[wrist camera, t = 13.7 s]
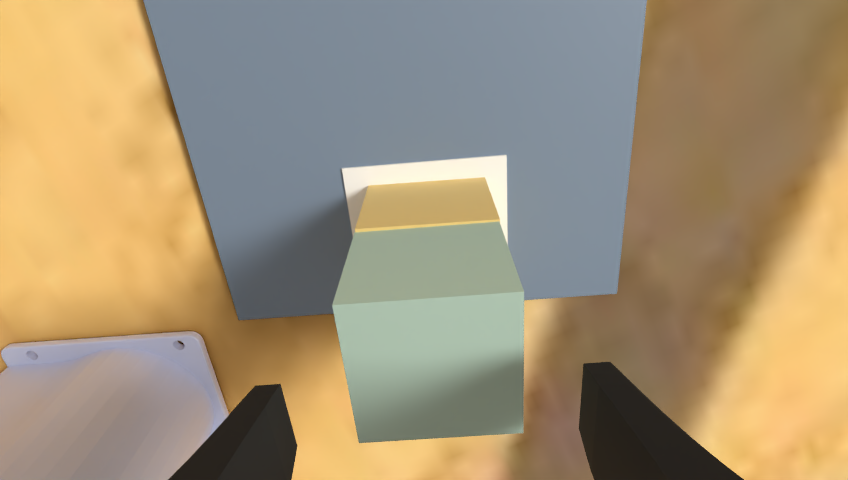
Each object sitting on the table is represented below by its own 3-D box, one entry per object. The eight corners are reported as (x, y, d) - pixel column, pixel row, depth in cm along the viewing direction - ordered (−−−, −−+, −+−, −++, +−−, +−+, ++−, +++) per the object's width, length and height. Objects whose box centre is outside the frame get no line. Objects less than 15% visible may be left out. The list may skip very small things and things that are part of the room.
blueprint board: (241, 315, 22) (237, 321, 22) (108, -139, 15) (98, -144, 15) (613, 288, 22) (617, 294, 21) (661, -198, 15) (668, -205, 14)
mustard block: (381, 285, 21) (372, 346, 17) (368, 185, 19) (354, 229, 15) (487, 278, 21) (501, 337, 17) (484, 177, 19) (500, 219, 15)
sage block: (373, 348, 17) (359, 443, 14) (354, 232, 16) (332, 305, 12) (501, 339, 17) (523, 432, 14) (499, 221, 15) (524, 291, 12)
